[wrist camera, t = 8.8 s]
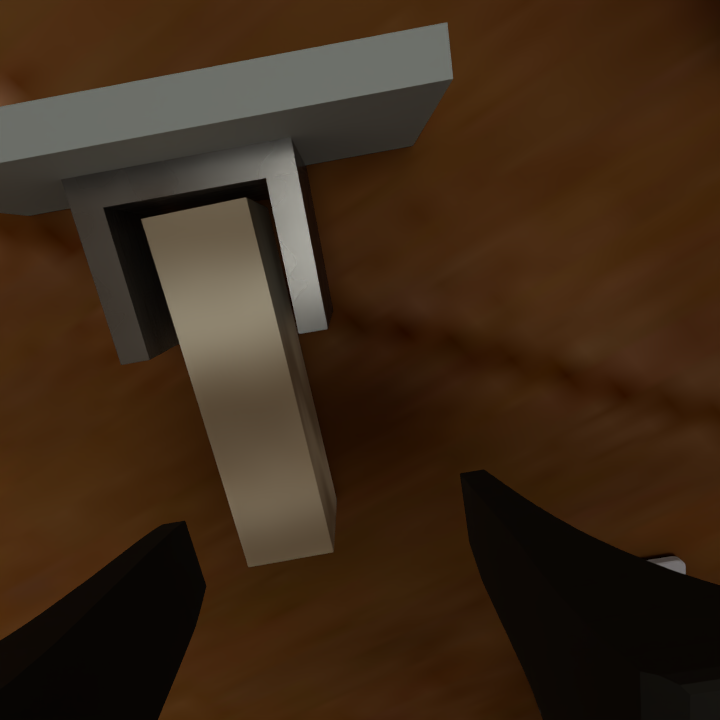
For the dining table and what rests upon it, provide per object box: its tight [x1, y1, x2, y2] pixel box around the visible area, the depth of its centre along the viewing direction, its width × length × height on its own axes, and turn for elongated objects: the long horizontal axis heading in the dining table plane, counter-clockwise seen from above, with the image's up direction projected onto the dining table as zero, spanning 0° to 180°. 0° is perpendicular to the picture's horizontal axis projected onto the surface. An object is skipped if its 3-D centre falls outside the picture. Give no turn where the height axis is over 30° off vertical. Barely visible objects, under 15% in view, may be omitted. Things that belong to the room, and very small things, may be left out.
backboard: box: [0, 23, 453, 216], centre depth 14 cm, size 1×16×7 cm, turn 100°
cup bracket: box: [61, 137, 333, 365], centre depth 16 cm, size 6×7×4 cm
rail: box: [141, 197, 337, 567], centre depth 18 cm, size 14×4×4 cm, turn 11°
